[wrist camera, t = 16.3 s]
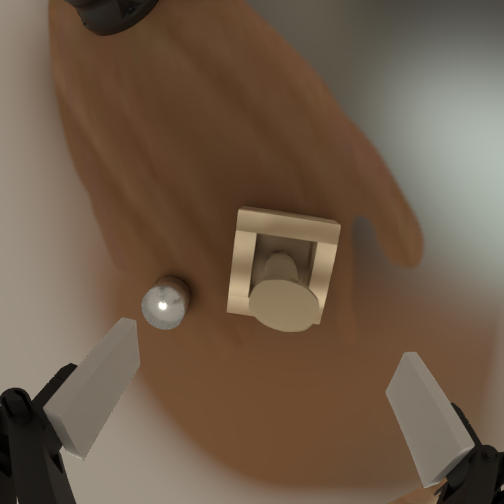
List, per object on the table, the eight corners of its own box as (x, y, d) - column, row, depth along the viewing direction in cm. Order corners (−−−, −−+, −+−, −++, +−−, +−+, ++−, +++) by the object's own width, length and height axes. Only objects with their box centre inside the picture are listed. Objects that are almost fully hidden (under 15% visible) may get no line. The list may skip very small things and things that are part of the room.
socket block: (242, 205, 39) (238, 209, 34) (332, 219, 38) (341, 225, 33) (231, 297, 42) (226, 312, 37) (314, 308, 42) (319, 324, 37)
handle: (293, 283, 40) (304, 339, 26) (251, 267, 40) (241, 316, 26) (307, 253, 39) (327, 295, 25) (264, 236, 39) (261, 270, 24)
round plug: (176, 320, 43) (168, 337, 37) (145, 297, 42) (133, 311, 36) (198, 292, 42) (192, 306, 36) (166, 268, 41) (156, 279, 36)
